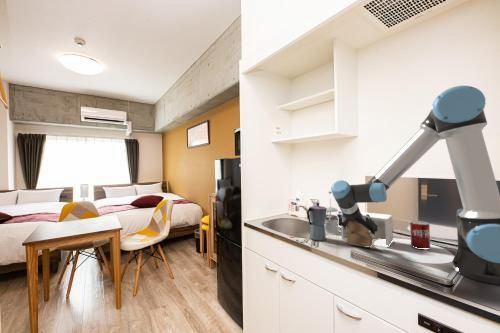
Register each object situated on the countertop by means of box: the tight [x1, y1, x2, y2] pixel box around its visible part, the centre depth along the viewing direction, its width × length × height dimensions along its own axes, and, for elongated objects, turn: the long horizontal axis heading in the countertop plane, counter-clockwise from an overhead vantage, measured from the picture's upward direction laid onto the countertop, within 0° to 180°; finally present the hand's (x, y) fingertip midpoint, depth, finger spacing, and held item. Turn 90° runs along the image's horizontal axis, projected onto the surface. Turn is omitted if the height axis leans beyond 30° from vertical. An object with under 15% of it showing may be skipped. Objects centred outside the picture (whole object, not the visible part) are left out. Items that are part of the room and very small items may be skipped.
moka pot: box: [306, 202, 327, 242], centre depth 120 cm, size 10×15×20 cm, turn 129°
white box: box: [340, 211, 394, 246], centre depth 114 cm, size 22×11×14 cm, turn 47°
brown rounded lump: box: [346, 221, 373, 248], centre depth 106 cm, size 10×5×12 cm, turn 47°
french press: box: [324, 191, 341, 236], centre depth 132 cm, size 10×12×25 cm
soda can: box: [409, 220, 431, 249], centre depth 102 cm, size 7×7×12 cm
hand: (361, 234), depth 108 cm, fingers closed on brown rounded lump, 10 cm apart
